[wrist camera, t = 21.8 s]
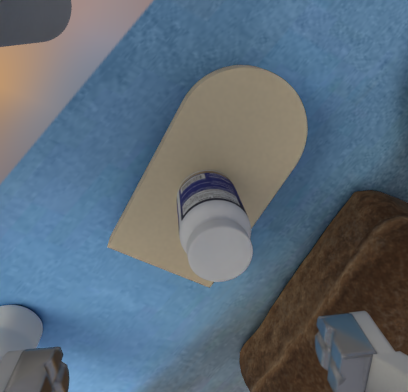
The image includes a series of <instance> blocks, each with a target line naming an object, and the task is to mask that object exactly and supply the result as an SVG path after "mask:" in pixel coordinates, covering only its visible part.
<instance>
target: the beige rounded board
mask: <svg viewBox="0 0 408 392" xmlns="http://www.w3.org/2000/svg"><path fill="white" fill-rule="evenodd" d="M307 128H308V127H307V117H306V112H305V109H304V106H303V103H302V101H301V99H300V97H299V96H298V94H297V93H296V91H295V90H294V89H293V88H292V87H291V85H290V84H289V83H288V82H286V81H285V80H284V79H282V78H281V77H280V76H278V75H276V74H274V73H272V72H270V71H268V70H265V69H262V68H259V67H255V66H251V65H233V66H228V67H223V68H221V69H218V70H215V71H213V72H211V73H209V74H208V75H206V76H205V77H203V78H202V79H200V80H199V81H198V82H197V83H196V84H195V85H194V86H193V87H192V88H191V89H190V90H189V92H188V93H187V94H186V96H185V98H184V99H183V101H182V103H181V105H180V106H179V108H178V110H177V112H176V114H175V116H174V118H173V120H172V121H171V123H170V125H169V127H168V129H167V131H166V133H165V135H164V136H163V138H162V140H161V142H160V144H159V146H158V148H157V150H156V151H155V153H154V155H153V157H152V159H151V161H150V163H149V165H148V166H147V168H146V170H145V172H144V174H143V176H142V178H141V180H140V181H139V183H138V185H137V187H136V189H135V191H134V193H133V195H132V196H131V198H130V200H129V202H128V204H127V206H126V208H125V210H124V212H123V213H122V215H121V217H120V219H119V221H118V223H117V225H116V227H115V228H114V230H113V232H112V234H111V236H110V239H109V242H108V246H107V247H108V248H111V249H113V250H116V251H118V252H121V253H123V254H126V255H128V256H131V257H133V258H136V259H138V260H141V261H144V262H146V263H149V264H151V265H154V266H156V267H159V268H161V269H164V270H166V271H169V272H171V273H174V274H176V275H179V276H181V277H184V278H187V279H189V280H192V281H194V282H197V283H199V284H202V285H204V286H207V287H209V288H210V287H211V285H212V284H213V283H214V282H212V281H208V280H205V279H202V278H200V277H199V276H197V275H196V274H195V273H194V272H193V270H192V269H191V267H190V265H189V262H188V257H187V253H186V252H185V251H184V249H183V247H182V245H181V242H180V238H179V226H178V214H177V192H178V189H179V187H180V185H181V184H182V182H183V181H184V180H185V179H186V178H187V177H188V176H189V175H191V174H193V173H195V172H198V171H202V170H214V171H218V172H220V173H222V174H224V175H226V176H227V177H228V178H229V179H230V180H231V181H232V183H233V184H234V186H235V188H236V191H237V193H238V195H239V198H240V200H241V202H242V204H243V207H244V209H245V211H246V213H247V216H248V218H249V221H250V225H251V229H252V227H253V226H254V224H255V223H256V221H257V220H258V219H259V217H260V216H261V214H262V213H263V211H264V210H265V209H266V207H267V206H268V204H269V203H270V202H271V200H272V199H273V197H274V196H275V194H276V193H277V192H278V190H279V189H280V187H281V186H282V184H283V183H284V182H285V180H286V179H287V177H288V176H289V175H290V173H291V172H292V170H293V169H294V168H295V166H296V164H297V163H298V161H299V159H300V157H301V155H302V153H303V150H304V147H305V144H306V139H307Z"/></svg>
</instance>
